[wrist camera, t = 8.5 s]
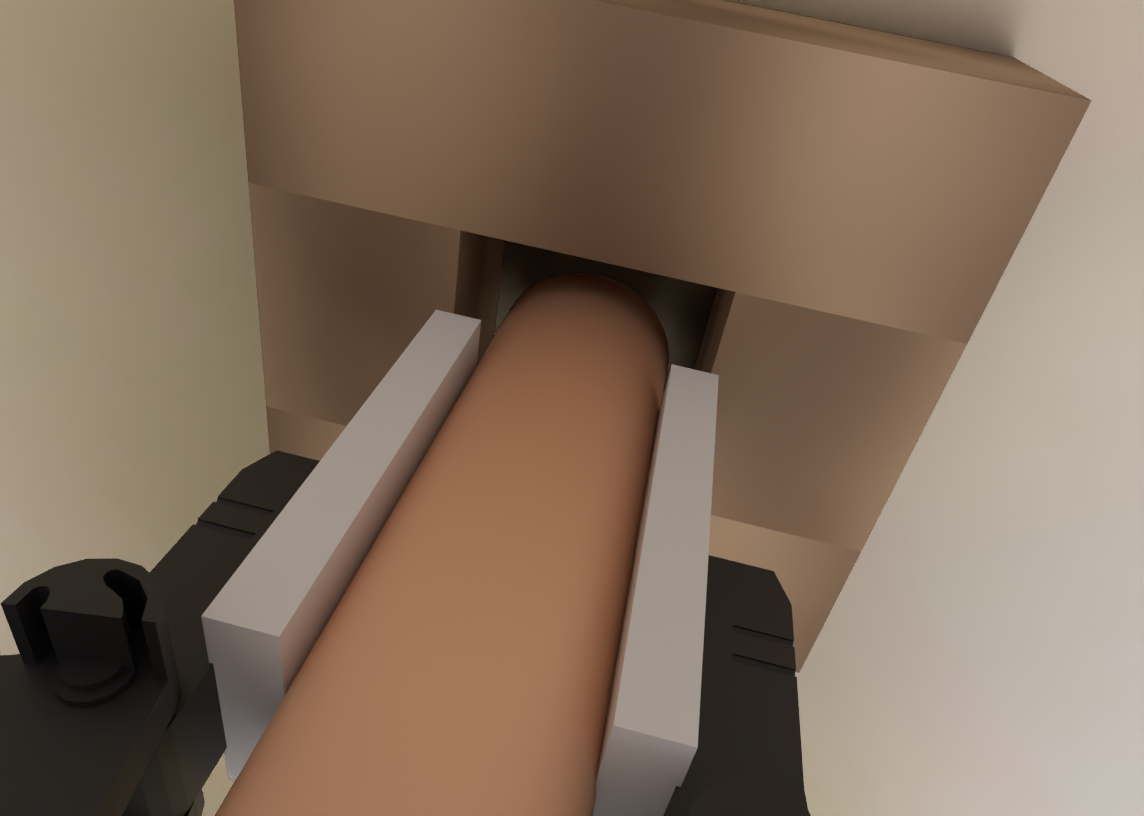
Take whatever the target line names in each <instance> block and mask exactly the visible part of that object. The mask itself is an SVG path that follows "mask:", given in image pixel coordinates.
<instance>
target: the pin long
mask: <svg viewBox="0 0 1144 816" xmlns="http://www.w3.org/2000/svg"><path fill="white" fill-rule="evenodd" d="M668 362H669V350H668V342H667V338H666V334H665V331H664V329H663V327H662V324H661V322H660V320H659V319H658V317H657V315H656V314H655V312H654V311H653V310H652V308H651V307H650V306H649V305H648V304H647V303H646V302H645V301H644V300H643V299H642V298H641V297H640V296H639V295H638V294H636V293H635V292H634V291H632V290H631V289H629V288H627V287H626V286H624V285H622V284H621V283H618V282H616V281H613V280H611V279H608V278H605V277H601V276H598V275H591V274H580V273H573V274H563V275H559V276H554V277H551V278H548V279H545V280H543V281H541V282H539V283H537V284H535V285H533V286H532V287H531V288H529V289H528V290H526V291H525V292H524V293H523V294H522V295H521V296H520V297H519V298H518V299H517V300H516V302H515V303H514V304H513V306H512V307H511V309H510V310H509V312H508V314H507V316H506V317H505V319H504V321H503V322H502V324H501V326H500V328H499V329H498V331H497V333H496V334H495V336H494V338H493V340H492V341H491V343H490V345H489V346H488V348H487V350H486V352H485V353H484V355H483V357H482V358H481V360H480V362H479V364H478V365H477V367H476V369H475V370H474V372H473V374H472V376H471V377H470V379H469V381H468V382H467V384H466V386H465V388H464V389H463V391H462V393H461V394H460V396H459V398H458V400H457V401H456V403H455V405H454V406H453V408H452V410H451V412H450V413H449V415H448V417H447V418H446V420H445V422H444V424H443V425H442V427H441V429H440V430H439V432H438V434H437V436H436V437H435V439H434V441H433V442H432V444H431V446H430V448H429V449H428V451H427V453H426V454H425V456H424V458H423V460H422V461H421V463H420V465H419V466H418V468H417V470H416V472H415V473H414V475H413V477H412V478H411V480H410V482H409V484H408V485H407V487H406V489H405V491H404V492H403V494H402V496H401V497H400V499H399V501H398V503H397V504H396V506H395V508H394V509H393V511H392V513H391V515H390V516H389V518H388V520H387V521H386V523H385V525H384V527H383V528H382V530H381V532H380V533H379V535H378V537H377V539H376V540H375V542H374V544H373V545H372V547H371V549H370V551H369V552H368V554H367V556H366V557H365V559H364V561H363V563H362V564H361V566H360V568H359V569H358V571H357V573H356V575H355V576H354V578H353V580H352V581H351V583H350V585H349V587H348V588H347V590H346V592H345V593H344V595H343V597H342V599H341V600H340V602H339V604H338V605H337V607H336V609H335V611H334V612H333V614H332V616H331V617H330V619H329V621H328V623H327V624H326V626H325V628H324V629H323V631H322V633H321V635H320V636H319V638H318V640H317V641H316V643H315V645H314V647H313V648H312V650H311V652H310V653H309V655H308V657H307V659H306V660H305V662H304V664H303V665H302V667H301V669H300V671H299V672H298V674H297V676H296V677H295V679H294V681H293V683H292V684H291V686H290V688H289V689H288V691H287V693H286V695H285V696H284V698H283V700H282V701H281V703H280V705H279V707H278V708H277V710H276V712H275V713H274V715H273V717H272V719H271V720H270V722H269V724H268V725H267V727H266V729H265V731H264V732H263V734H262V736H261V737H260V739H259V741H258V743H257V744H256V746H255V748H254V749H253V751H252V753H251V755H250V756H249V758H248V760H247V762H246V763H245V765H244V767H243V768H242V770H241V772H240V774H239V775H238V777H237V779H236V780H235V782H234V784H233V786H232V787H231V789H230V791H229V792H228V794H227V796H226V798H225V799H224V801H223V803H222V804H221V806H220V808H219V810H218V811H217V813H216V815H215V816H593V810H594V804H595V798H596V777H597V771H598V765H599V760H600V754H601V748H602V742H603V736H604V730H605V724H606V719H607V713H608V707H609V701H610V695H611V689H612V683H613V678H614V672H615V666H616V660H617V654H618V648H619V642H620V637H621V631H622V625H623V619H624V613H625V607H626V601H627V596H628V590H629V584H630V578H631V572H632V566H633V560H634V555H635V549H636V543H637V537H638V531H639V525H640V519H641V514H642V508H643V502H644V496H645V490H646V484H647V478H648V473H649V467H650V461H651V455H652V449H653V443H654V437H655V432H656V426H657V420H658V414H659V410H660V406H661V402H662V398H663V392H664V386H665V380H666V374H667V368H668Z"/></svg>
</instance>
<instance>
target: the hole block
mask: <svg viewBox="0 0 1144 816" xmlns="http://www.w3.org/2000/svg"><path fill="white" fill-rule="evenodd" d="M234 5H235V18H236V31H237V43H238V56H239V68H240V81H241V93H242V106H243V119H244V131H245V144H246V156H247V169H248V181H249V194H250V207H251V219H252V232H253V244H254V257H255V270H256V282H257V295H258V307H259V320H260V332H261V345H262V358H263V370H264V383H265V395H266V408H267V420H268V433H269V446H270V454H271V453H273V452H275V451H277V450H278V451H282V452H286V453H290V454H294V455H298V456H302V457H306V458H310V459H314V460H318V461H320V460H321V459H322V458H323V457H324V455H325V454H326V453H327V451H328V450H329V449H330V447H331V446H332V445H333V443H334V442H335V441H336V440H337V438H338V437H339V436H340V434H341V433H342V432H343V430H344V429H345V428H346V426H347V425H348V424H349V423H350V421H351V420H352V419H353V417H354V416H355V415H356V413H357V412H358V411H359V410H360V408H361V407H362V406H363V404H364V403H365V402H366V400H367V399H368V398H369V396H370V395H371V394H372V393H373V391H374V390H375V389H376V387H377V386H378V385H379V383H380V382H381V381H382V380H383V378H384V377H385V376H386V374H387V373H388V372H389V370H390V369H391V368H392V366H393V365H394V364H395V363H396V361H397V360H398V359H399V357H400V356H401V355H402V353H403V352H404V351H405V350H406V348H407V347H408V346H409V344H410V343H411V342H412V340H413V339H414V338H415V336H416V335H417V334H418V333H419V331H420V330H421V329H422V327H423V326H424V325H425V323H426V322H427V321H428V319H429V318H430V317H431V316H432V314H433V313H434V312H435V310H440V311H444V312H449V313H453V314H457V315H462V316H466V317H470V318H474V319H479V320H481V327H480V337H479V347H478V357H477V365H478V364H479V362H480V360H481V358H482V357H483V355H484V353H485V352H486V350H487V348H488V346H489V345H490V343H491V341H492V340H493V338H494V332H495V323H496V314H497V305H498V297H499V288H500V279H501V270H502V262H503V253H504V244H505V240H506V241H510V242H515V243H519V244H524V245H528V246H533V247H537V248H541V249H546V250H550V251H555V252H559V253H564V254H568V255H573V256H577V257H582V258H586V259H591V260H595V261H599V262H604V263H608V264H613V265H617V266H622V267H626V268H631V269H635V270H640V271H644V272H649V273H653V274H657V275H662V276H666V277H671V278H675V279H680V280H684V281H689V282H693V283H698V284H702V285H707V286H711V287H715V288H717V292H716V295H715V299H714V302H713V306H712V309H711V313H710V316H709V320H708V323H707V326H706V330H705V333H704V337H703V340H702V344H701V347H700V351H699V354H698V358H697V361H696V365H695V368H694V370H699V371H703V372H707V373H712V374H716V375H719V380H718V397H717V415H716V433H715V450H714V468H713V485H712V503H711V521H710V538H709V555H711V556H715V557H719V558H723V559H727V560H731V561H735V562H739V563H743V564H747V565H751V566H755V567H759V568H763V569H767V570H771V571H774V572H775V574H776V576H777V578H778V580H779V582H780V584H781V586H782V588H783V590H784V591H785V593H786V595H787V597H788V599H789V601H790V603H791V605H792V616H793V631H794V642H793V647H795V661H796V671H795V672H800V670H801V668H802V666H803V664H804V662H805V660H806V658H807V656H808V654H809V652H810V650H811V648H812V646H813V644H814V642H815V641H816V639H817V637H818V635H819V633H820V631H821V629H822V627H823V625H824V623H825V621H826V619H827V617H828V615H829V613H830V611H831V609H832V607H833V605H834V603H835V601H836V599H837V597H838V595H839V594H840V592H841V590H842V588H843V586H844V584H845V582H846V580H847V578H848V576H849V574H850V572H851V570H852V568H853V566H854V564H855V562H856V560H857V558H858V556H859V554H860V552H861V550H862V549H863V547H864V545H865V543H866V541H867V539H868V537H869V535H870V533H871V531H872V529H873V527H874V525H875V523H876V521H877V519H878V517H879V515H880V513H881V511H882V509H883V507H884V505H885V504H886V502H887V500H888V498H889V496H890V494H891V492H892V490H893V488H894V486H895V484H896V482H897V480H898V478H899V476H900V474H901V472H902V470H903V468H904V466H905V464H906V462H907V460H908V458H909V457H910V455H911V453H912V451H913V449H914V447H915V445H916V443H917V441H918V439H919V437H920V435H921V433H922V431H923V429H924V427H925V425H926V423H927V421H928V419H929V417H930V415H931V413H932V412H933V410H934V408H935V406H936V404H937V402H938V400H939V398H940V396H941V394H942V392H943V390H944V388H945V386H946V384H947V382H948V380H949V378H950V376H951V374H952V372H953V370H954V368H955V367H956V365H957V363H958V361H959V359H960V357H961V355H962V353H963V351H964V349H965V347H966V345H967V343H968V341H969V339H970V337H971V335H972V333H973V331H974V329H975V327H976V325H977V323H978V321H979V320H980V318H981V316H982V314H983V312H984V310H985V308H986V306H987V304H988V302H989V300H990V298H991V296H992V294H993V292H994V290H995V288H996V286H997V284H998V282H999V280H1000V278H1001V276H1002V275H1003V273H1004V271H1005V269H1006V267H1007V265H1008V263H1009V261H1010V259H1011V257H1012V255H1013V253H1014V251H1015V249H1016V247H1017V245H1018V243H1019V241H1020V239H1021V237H1022V235H1023V233H1024V231H1025V230H1026V228H1027V226H1028V224H1029V222H1030V220H1031V218H1032V216H1033V214H1034V212H1035V210H1036V208H1037V206H1038V204H1039V202H1040V200H1041V198H1042V196H1043V194H1044V192H1045V190H1046V188H1047V186H1048V185H1049V183H1050V181H1051V179H1052V177H1053V175H1054V173H1055V171H1056V169H1057V167H1058V165H1059V163H1060V161H1061V159H1062V157H1063V155H1064V153H1065V151H1066V149H1067V147H1068V145H1069V143H1070V141H1071V139H1072V138H1073V136H1074V134H1075V132H1076V130H1077V128H1078V126H1079V124H1080V122H1081V120H1082V118H1083V116H1084V114H1085V112H1086V110H1087V108H1088V106H1089V104H1090V102H1091V100H1089V99H1087V98H1086V97H1084V96H1082V95H1080V94H1079V93H1077V92H1075V91H1073V90H1071V89H1070V88H1068V87H1066V86H1064V85H1062V84H1061V83H1059V82H1057V81H1055V80H1053V79H1052V78H1050V77H1048V76H1046V75H1044V74H1043V73H1041V72H1039V71H1037V70H1035V69H1034V68H1032V67H1030V66H1028V65H1026V64H1025V63H1023V62H1021V61H1019V60H1017V59H1016V58H1013V57H1008V56H1003V55H998V54H993V53H988V52H983V51H978V50H973V49H967V48H962V47H957V46H952V45H947V44H942V43H937V42H932V41H927V40H922V39H917V38H912V37H907V36H902V35H897V34H892V33H887V32H882V31H877V30H872V29H867V28H862V27H857V26H852V25H847V24H842V23H837V22H832V21H827V20H822V19H817V18H812V17H807V16H802V15H797V14H792V13H787V12H782V11H777V10H772V9H767V8H761V7H756V6H751V5H746V4H741V3H736V2H731V1H726V0H234ZM476 367H477V366H476Z"/></svg>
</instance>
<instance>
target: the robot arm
mask: <svg viewBox="0 0 1144 816" xmlns="http://www.w3.org/2000/svg"><path fill="white" fill-rule="evenodd" d="M480 327H481V320H479V319H474V318H470V317H466V316H462V315H457V314H453V313H449V312H444V311H440V310H435V312H434V313H433V314H432V316H431V317H430V318H429V319H428V321H427V322H426V323H425V325H424V326H423V327H422V329H421V330H420V331H419V333H418V334H417V335H416V336H415V338H414V339H413V340H412V342H411V343H410V344H409V346H408V347H407V348H406V350H405V351H404V352H403V353H402V355H401V356H400V357H399V359H398V360H397V361H396V363H395V364H394V365H393V366H392V368H391V369H390V370H389V372H388V373H387V374H386V376H385V377H384V378H383V380H382V381H381V382H380V383H379V385H378V386H377V387H376V389H375V390H374V391H373V393H372V394H371V395H370V396H369V398H368V399H367V400H366V402H365V403H364V404H363V406H362V407H361V408H360V410H359V411H358V412H357V413H356V415H355V416H354V417H353V419H352V420H351V421H350V423H349V424H348V425H347V426H346V428H345V429H344V430H343V432H342V433H341V434H340V436H339V437H338V438H337V440H336V441H335V442H334V443H333V445H332V446H331V447H330V449H329V450H328V451H327V453H326V454H325V455H324V457H323V458H322V459H321V460H320V461H318V460H314V459H310V458H306V457H302V456H298V455H294V454H290V453H286V452H282V451H278V450H277V451H275V452H273V453H271V454H269V455H268V456H266V457H264V458H262V459H260V460H259V461H257V462H255V463H253V464H251V465H250V466H248V467H246V468H244V469H242V470H241V471H240V472H239V474H238V475H237V476H236V477H235V478H234V479H233V480H232V481H231V482H230V484H229V485H228V486H227V487H226V488H225V489H224V490H223V491H222V493H221V494H220V495H219V496H218V499H217V502H213V503H212V504H211V505H210V506H209V507H208V508H207V509H206V510H205V512H204V513H203V514H202V515H201V516H200V517H199V518H198V522H197V524H196V525H192V526H191V527H190V528H189V529H188V531H187V532H186V533H185V534H184V535H183V536H182V537H181V538H180V540H179V541H178V542H177V543H176V544H175V545H174V546H173V547H172V548H171V550H170V551H169V552H168V553H167V554H166V555H165V556H164V557H163V559H162V560H161V561H160V562H159V563H158V564H157V565H156V566H155V568H154V569H153V570H152V571H151V572H150V573H149V572H148V571H147V570H146V569H145V568H143V567H142V566H140V565H137V564H133V563H130V562H127V561H123V560H120V559H85V560H81V561H77V562H73V563H69V564H65V565H61V566H57V567H54V568H52V569H50V570H48V571H46V572H44V573H42V574H40V575H38V576H36V577H34V578H32V579H30V580H28V581H26V582H24V583H23V584H22V585H21V586H20V587H19V588H18V589H16V590H15V591H14V592H13V593H12V594H11V595H10V596H9V597H7V598H6V599H5V600H4V601H3V602H2V603H1V605H2V608H3V610H4V613H5V616H6V618H7V621H8V624H9V626H10V629H11V631H12V634H13V637H14V639H15V642H16V645H17V647H18V650H19V652H20V654H17V655H4V656H0V816H202V811H203V807H204V802H205V801H204V797H203V792H202V787H203V785H204V784H205V782H206V780H207V779H208V777H209V775H210V774H211V772H212V771H213V769H214V767H215V766H216V764H217V763H218V761H219V759H220V758H221V756H222V754H223V753H224V754H225V760H226V766H227V772H228V778H229V779H232V780H236V779H237V777H238V775H239V774H240V772H241V770H242V768H243V767H244V765H245V763H246V762H247V760H248V758H249V756H250V755H251V753H252V751H253V749H254V748H255V746H256V744H257V743H258V741H259V739H260V737H261V736H262V734H263V732H264V731H265V729H266V727H267V725H268V724H269V722H270V720H271V719H272V717H273V715H274V713H275V712H276V710H277V708H278V707H279V705H280V703H281V701H282V700H283V698H284V696H285V695H286V693H287V691H288V689H289V688H290V686H291V684H292V683H293V681H294V679H295V677H296V676H297V674H298V672H299V671H300V669H301V667H302V665H303V664H304V662H305V660H306V659H307V657H308V655H309V653H310V652H311V650H312V648H313V647H314V645H315V643H316V641H317V640H318V638H319V636H320V635H321V633H322V631H323V629H324V628H325V626H326V624H327V623H328V621H329V619H330V617H331V616H332V614H333V612H334V611H335V609H336V607H337V605H338V604H339V602H340V600H341V599H342V597H343V595H344V593H345V592H346V590H347V588H348V587H349V585H350V583H351V581H352V580H353V578H354V576H355V575H356V573H357V571H358V569H359V568H360V566H361V564H362V563H363V561H364V559H365V557H366V556H367V554H368V552H369V551H370V549H371V547H372V545H373V544H374V542H375V540H376V539H377V537H378V535H379V533H380V532H381V530H382V528H383V527H384V525H385V523H386V521H387V520H388V518H389V516H390V515H391V513H392V511H393V509H394V508H395V506H396V504H397V503H398V501H399V499H400V497H401V496H402V494H403V492H404V491H405V489H406V487H407V485H408V484H409V482H410V480H411V478H412V477H413V475H414V473H415V472H416V470H417V468H418V466H419V465H420V463H421V461H422V460H423V458H424V456H425V454H426V453H427V451H428V449H429V448H430V446H431V444H432V442H433V441H434V439H435V437H436V436H437V434H438V432H439V430H440V429H441V427H442V425H443V424H444V422H445V420H446V418H447V417H448V415H449V413H450V412H451V410H452V408H453V406H454V405H455V403H456V401H457V400H458V398H459V396H460V394H461V393H462V391H463V389H464V388H465V386H466V384H467V382H468V381H469V379H470V377H471V376H472V374H473V372H474V370H475V369H476V366H477V357H478V347H479V337H480ZM718 380H719V375H716V374H712V373H707V372H703V371H699V370H694V369H690V368H686V367H681V366H677V365H673V364H672V365H671V369H670V372H669V376H668V380H667V384H666V387H665V391H664V395H663V398H662V402H661V406H660V410H659V414H658V420H657V426H656V432H655V437H654V443H653V449H652V455H651V461H650V467H649V473H648V478H647V484H646V490H645V496H644V502H643V508H642V514H641V519H640V525H639V531H638V537H637V543H636V549H635V555H634V560H633V566H632V572H631V578H630V584H629V590H628V596H627V601H626V607H625V613H624V619H623V625H622V631H621V637H620V642H619V648H618V654H617V660H616V666H615V672H614V678H613V683H612V689H611V695H610V701H609V707H608V713H607V719H606V724H605V730H604V736H603V742H602V748H601V754H600V760H599V765H598V771H597V777H596V798H595V804H594V810H593V816H810V813H809V811H808V808H807V802H806V797H805V792H804V782H803V767H802V752H801V737H800V722H799V707H798V691H797V677H795V671H796V661H795V647H793V642H794V631H793V616H792V605H791V603H790V601H789V599H788V597H787V595H786V593H785V591H784V590H783V588H782V586H781V584H780V582H779V580H778V578H777V576H776V574H775V572H774V571H771V570H767V569H763V568H759V567H755V566H751V565H747V564H743V563H739V562H735V561H731V560H727V559H723V558H719V557H715V556H711V555H709V538H710V521H711V503H712V485H713V468H714V450H715V433H716V415H717V397H718Z"/></svg>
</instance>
